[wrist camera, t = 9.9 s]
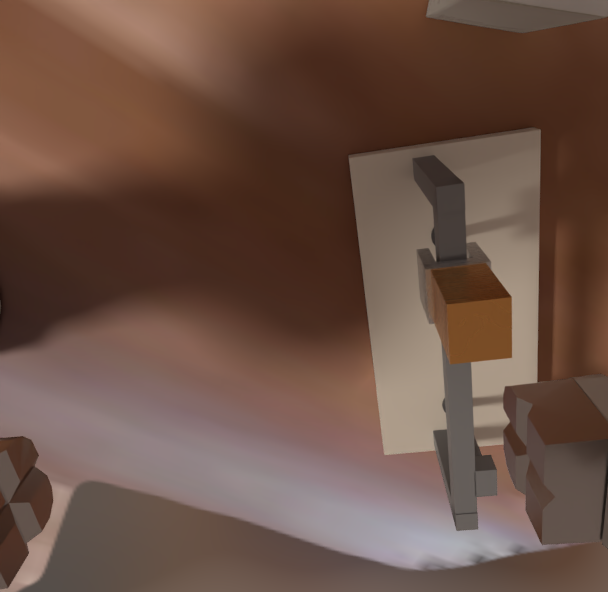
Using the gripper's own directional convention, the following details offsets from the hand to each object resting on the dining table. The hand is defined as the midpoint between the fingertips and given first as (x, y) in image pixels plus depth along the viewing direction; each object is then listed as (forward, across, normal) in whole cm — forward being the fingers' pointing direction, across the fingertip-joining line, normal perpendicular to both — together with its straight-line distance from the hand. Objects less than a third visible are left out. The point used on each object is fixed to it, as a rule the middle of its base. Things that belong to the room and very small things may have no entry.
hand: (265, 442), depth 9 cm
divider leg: (+33, -9, +8) cm, 35 cm away
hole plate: (+36, -10, +15) cm, 40 cm away
